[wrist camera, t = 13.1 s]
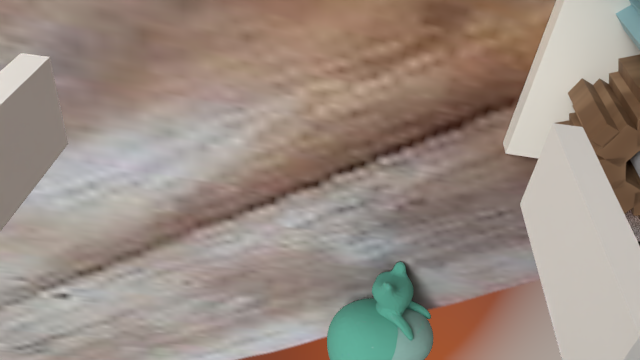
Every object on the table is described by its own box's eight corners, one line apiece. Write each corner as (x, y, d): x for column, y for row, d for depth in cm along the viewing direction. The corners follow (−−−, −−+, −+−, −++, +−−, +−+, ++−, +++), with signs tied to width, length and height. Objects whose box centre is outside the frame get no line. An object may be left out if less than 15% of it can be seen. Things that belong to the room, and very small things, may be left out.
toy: (454, 263, 55) (437, 393, 60) (358, 238, 60) (349, 361, 64) (421, 311, 47) (403, 457, 52) (311, 278, 51) (305, 417, 56)
